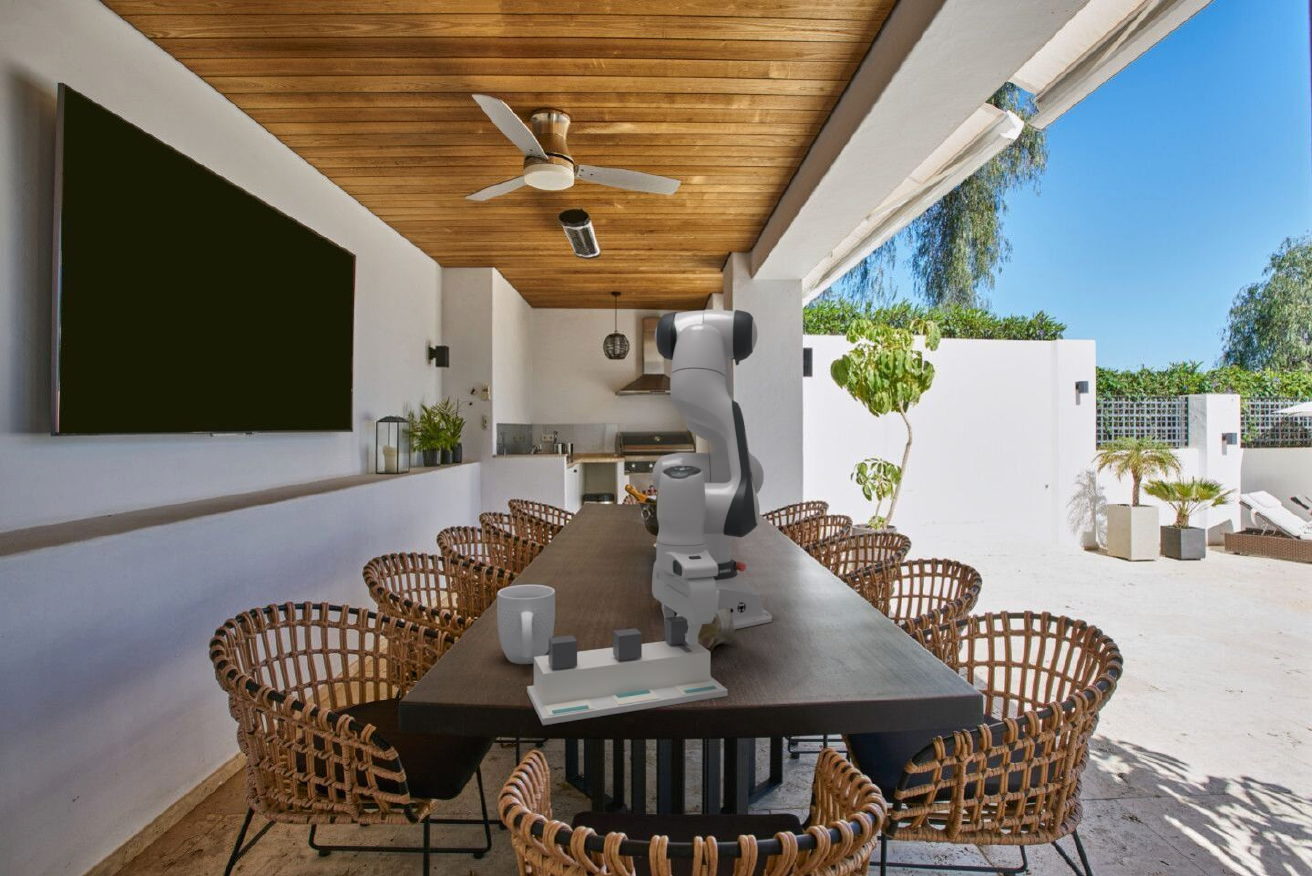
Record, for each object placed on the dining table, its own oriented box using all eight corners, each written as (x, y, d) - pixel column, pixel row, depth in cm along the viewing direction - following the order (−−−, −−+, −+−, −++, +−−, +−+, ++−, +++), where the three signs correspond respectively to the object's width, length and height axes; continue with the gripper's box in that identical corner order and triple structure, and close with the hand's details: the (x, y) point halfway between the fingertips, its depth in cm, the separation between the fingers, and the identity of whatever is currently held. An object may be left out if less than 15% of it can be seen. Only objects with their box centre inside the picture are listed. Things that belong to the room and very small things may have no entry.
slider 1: (572, 659, 107) (572, 635, 107) (577, 665, 104) (577, 641, 104) (548, 662, 105) (548, 638, 105) (552, 669, 102) (552, 643, 102)
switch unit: (694, 668, 120) (695, 636, 120) (727, 695, 108) (727, 659, 108) (527, 692, 109) (527, 656, 109) (542, 725, 97) (543, 684, 97)
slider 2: (684, 637, 118) (685, 615, 118) (691, 642, 116) (691, 620, 116) (664, 640, 117) (664, 618, 117) (671, 645, 114) (671, 622, 114)
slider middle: (635, 651, 111) (635, 628, 111) (641, 657, 108) (641, 633, 108) (613, 654, 109) (613, 630, 109) (618, 660, 107) (618, 636, 106)
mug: (558, 674, 117) (559, 602, 117) (495, 679, 115) (496, 605, 114) (552, 647, 132) (553, 583, 131) (496, 651, 129) (497, 585, 129)
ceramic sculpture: (748, 604, 133) (696, 623, 123) (749, 646, 133) (698, 668, 123) (710, 594, 141) (659, 611, 131) (712, 634, 141) (661, 653, 131)
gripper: (644, 548, 124) (643, 621, 124) (688, 570, 105) (687, 656, 105) (674, 547, 126) (674, 618, 126) (723, 568, 107) (722, 651, 107)
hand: (680, 635), depth 115 cm, fingers open, 8 cm apart
